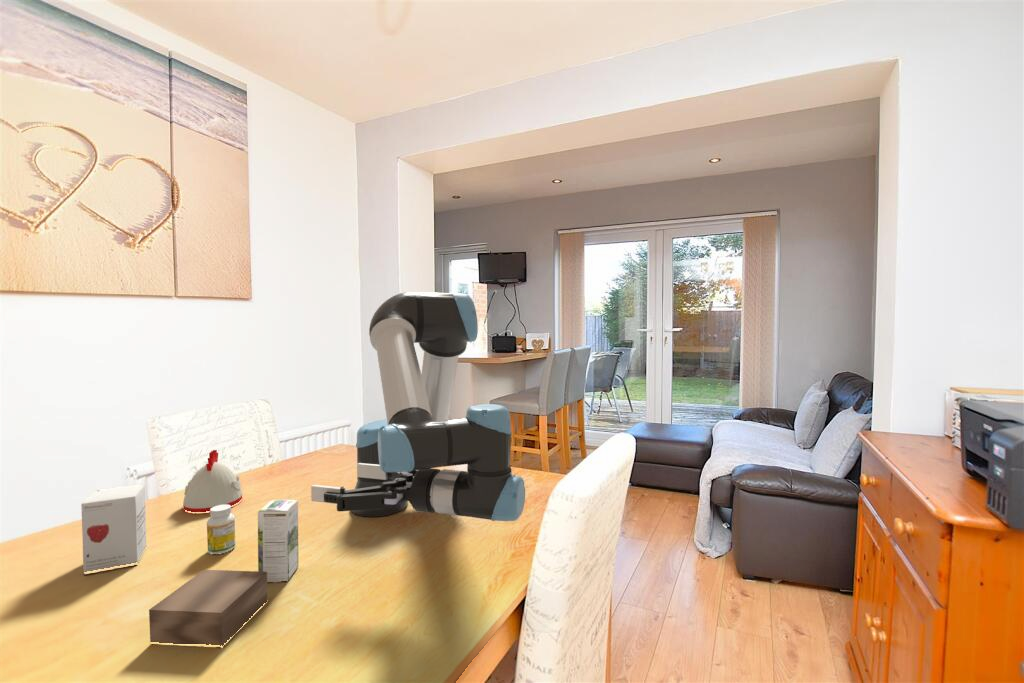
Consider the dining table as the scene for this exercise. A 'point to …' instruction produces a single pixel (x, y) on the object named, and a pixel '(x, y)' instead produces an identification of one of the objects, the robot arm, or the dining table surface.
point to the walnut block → (208, 607)
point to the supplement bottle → (221, 529)
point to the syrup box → (278, 539)
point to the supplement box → (113, 527)
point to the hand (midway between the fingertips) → (337, 480)
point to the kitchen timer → (212, 487)
